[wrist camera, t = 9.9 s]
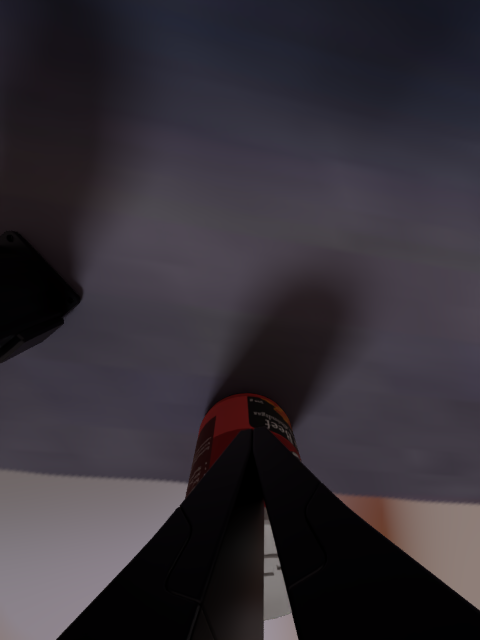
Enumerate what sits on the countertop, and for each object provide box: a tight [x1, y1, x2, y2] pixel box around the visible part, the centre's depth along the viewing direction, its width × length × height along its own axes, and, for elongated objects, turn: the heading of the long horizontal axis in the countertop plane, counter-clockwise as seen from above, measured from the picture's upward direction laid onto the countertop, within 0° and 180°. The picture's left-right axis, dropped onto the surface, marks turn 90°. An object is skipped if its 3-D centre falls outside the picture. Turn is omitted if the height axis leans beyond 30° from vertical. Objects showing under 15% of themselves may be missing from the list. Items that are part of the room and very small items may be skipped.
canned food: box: [185, 393, 301, 621], centre depth 19 cm, size 8×8×11 cm
